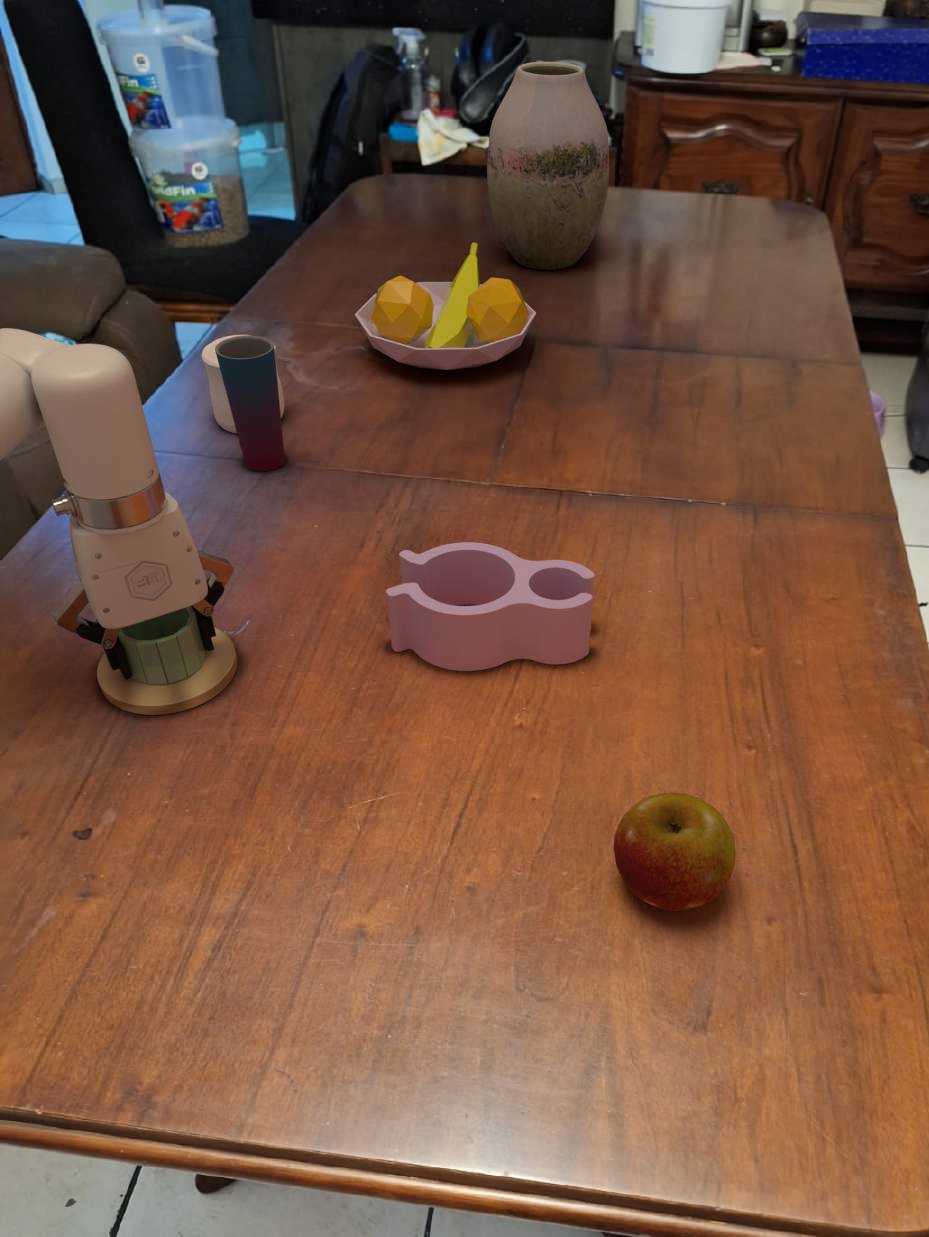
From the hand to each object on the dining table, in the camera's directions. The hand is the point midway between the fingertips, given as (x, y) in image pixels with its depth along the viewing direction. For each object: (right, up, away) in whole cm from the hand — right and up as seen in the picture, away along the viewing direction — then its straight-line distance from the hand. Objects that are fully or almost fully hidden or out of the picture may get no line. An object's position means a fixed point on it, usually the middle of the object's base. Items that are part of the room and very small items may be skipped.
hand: (165, 656), depth 99 cm
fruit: (+47, -19, -16) cm, 53 cm away
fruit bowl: (+23, +51, +59) cm, 81 cm away
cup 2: (+1, +27, +32) cm, 42 cm away
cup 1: (-3, +35, +40) cm, 53 cm away
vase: (+37, +79, +89) cm, 124 cm away
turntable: (0, -1, +1) cm, 2 cm away
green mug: (-1, 0, +1) cm, 1 cm away
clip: (+32, +3, +7) cm, 32 cm away
